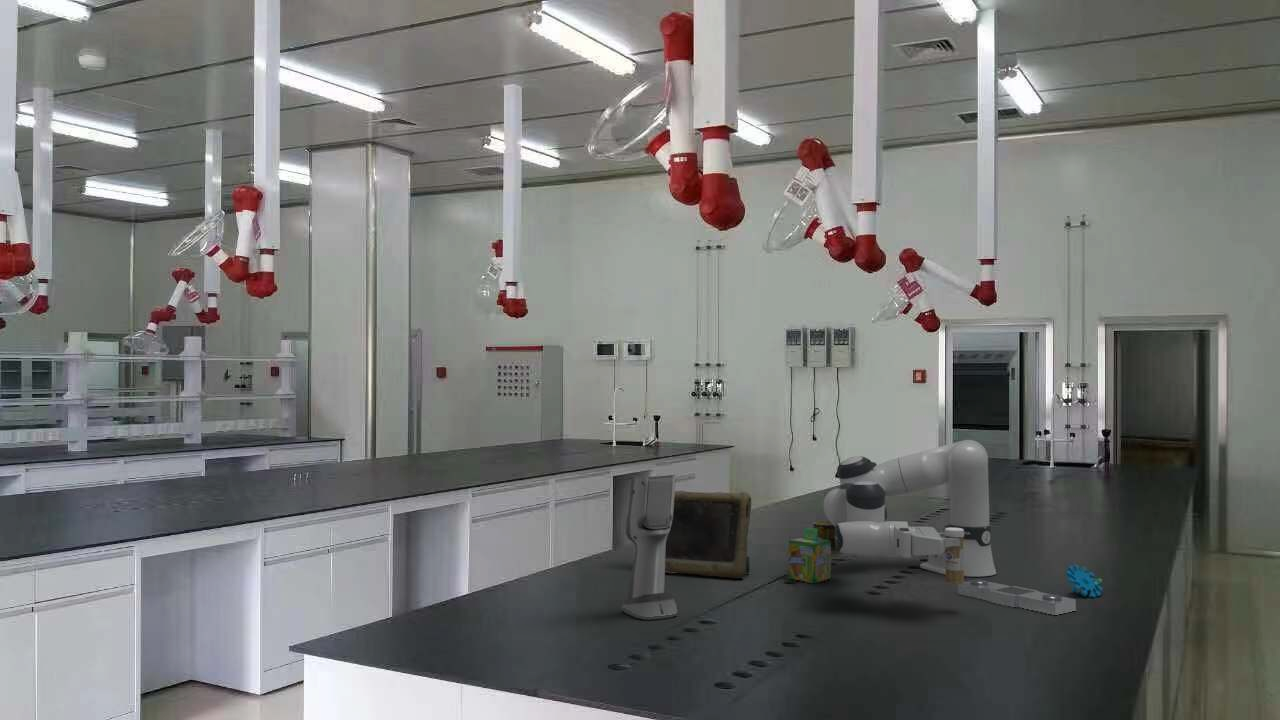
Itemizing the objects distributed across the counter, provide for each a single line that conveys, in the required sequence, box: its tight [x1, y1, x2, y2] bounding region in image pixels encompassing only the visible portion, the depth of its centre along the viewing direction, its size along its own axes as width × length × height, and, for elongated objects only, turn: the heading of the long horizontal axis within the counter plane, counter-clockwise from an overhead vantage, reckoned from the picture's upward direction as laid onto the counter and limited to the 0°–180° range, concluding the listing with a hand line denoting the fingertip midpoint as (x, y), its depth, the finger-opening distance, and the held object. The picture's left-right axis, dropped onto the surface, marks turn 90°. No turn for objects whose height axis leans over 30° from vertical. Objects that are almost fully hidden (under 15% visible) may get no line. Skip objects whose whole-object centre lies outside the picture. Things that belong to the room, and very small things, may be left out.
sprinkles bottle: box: [944, 527, 965, 585], centre depth 243 cm, size 5×5×14 cm
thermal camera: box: [621, 474, 678, 617], centre depth 245 cm, size 12×13×35 cm
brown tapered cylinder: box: [812, 519, 838, 554], centre depth 325 cm, size 13×10×10 cm
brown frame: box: [665, 490, 752, 579], centre depth 295 cm, size 33×14×25 cm, turn 68°
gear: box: [1065, 564, 1103, 598], centre depth 260 cm, size 11×6×10 cm
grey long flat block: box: [957, 579, 1077, 616], centre depth 251 cm, size 29×10×4 cm, turn 32°
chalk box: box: [788, 527, 832, 584], centre depth 283 cm, size 9×9×15 cm
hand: (958, 540), depth 242 cm, fingers closed on sprinkles bottle, 4 cm apart
